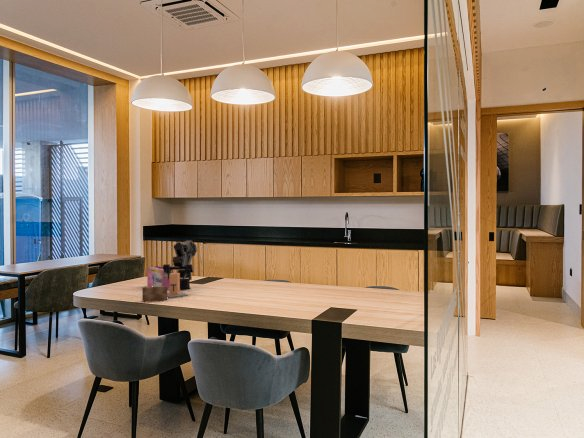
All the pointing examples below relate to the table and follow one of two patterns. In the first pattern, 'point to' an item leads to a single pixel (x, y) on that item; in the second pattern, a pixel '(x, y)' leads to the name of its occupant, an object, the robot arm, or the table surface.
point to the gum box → (157, 277)
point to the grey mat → (176, 295)
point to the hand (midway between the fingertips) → (175, 279)
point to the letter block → (174, 283)
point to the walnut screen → (154, 293)
